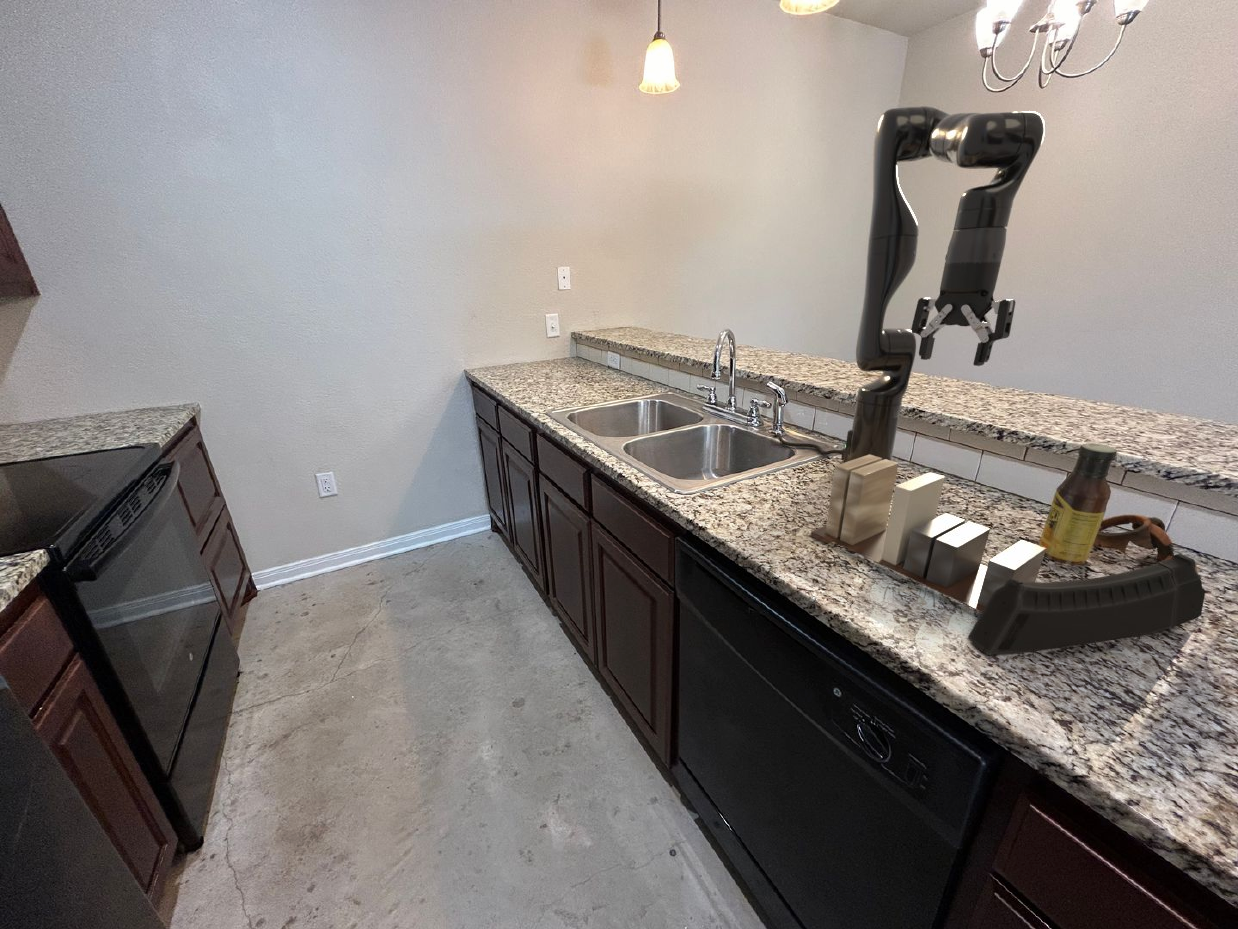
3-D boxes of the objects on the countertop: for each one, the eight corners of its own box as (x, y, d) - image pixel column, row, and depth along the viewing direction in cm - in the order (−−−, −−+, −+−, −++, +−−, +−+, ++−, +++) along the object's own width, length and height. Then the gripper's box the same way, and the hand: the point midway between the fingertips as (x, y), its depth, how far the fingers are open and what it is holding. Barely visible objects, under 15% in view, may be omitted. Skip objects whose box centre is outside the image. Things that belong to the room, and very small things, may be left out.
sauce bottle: (1038, 546, 86) (1073, 436, 79) (1086, 560, 82) (1128, 445, 74) (1032, 561, 81) (1068, 446, 74) (1082, 576, 77) (1126, 456, 70)
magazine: (986, 605, 57) (1222, 514, 58) (963, 588, 60) (1188, 503, 61) (989, 708, 63) (1201, 625, 64) (968, 688, 66) (1172, 609, 67)
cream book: (881, 558, 81) (895, 485, 77) (914, 541, 86) (929, 471, 81) (895, 565, 79) (910, 490, 75) (928, 547, 84) (945, 476, 80)
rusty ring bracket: (1168, 585, 75) (1146, 537, 75) (1091, 580, 84) (1071, 537, 84) (1199, 546, 80) (1178, 501, 79) (1123, 545, 89) (1104, 504, 88)
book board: (810, 536, 91) (820, 464, 86) (854, 517, 97) (865, 450, 92) (1007, 630, 66) (1036, 537, 61) (1047, 597, 72) (1077, 511, 67)
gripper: (1036, 258, 76) (1008, 365, 82) (938, 261, 87) (920, 355, 93) (1014, 258, 72) (986, 370, 78) (915, 261, 84) (897, 359, 89)
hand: (950, 362), depth 85 cm, fingers open, 8 cm apart
